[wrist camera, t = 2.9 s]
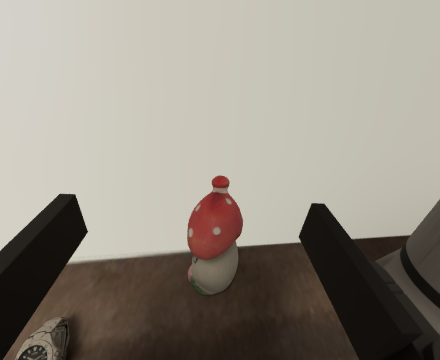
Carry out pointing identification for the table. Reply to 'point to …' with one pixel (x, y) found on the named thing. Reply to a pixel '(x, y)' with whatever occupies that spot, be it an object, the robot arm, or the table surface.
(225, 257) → the decorative ornament
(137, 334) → the table surface
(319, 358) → the table surface
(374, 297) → the robot arm
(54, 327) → the wristwatch
